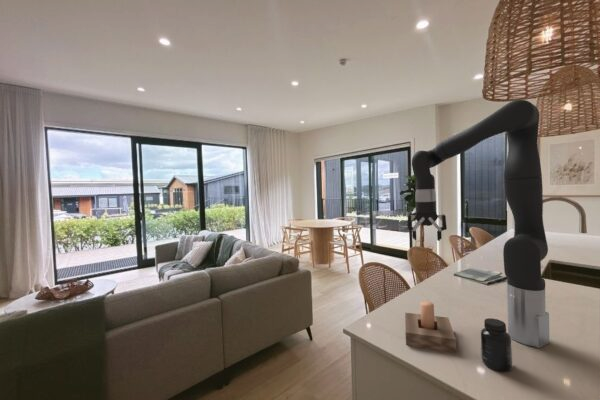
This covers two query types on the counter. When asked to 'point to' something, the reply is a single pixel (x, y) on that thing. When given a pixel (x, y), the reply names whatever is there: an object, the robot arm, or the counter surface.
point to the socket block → (430, 333)
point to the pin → (427, 315)
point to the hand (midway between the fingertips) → (426, 240)
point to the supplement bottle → (496, 345)
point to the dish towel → (480, 275)
